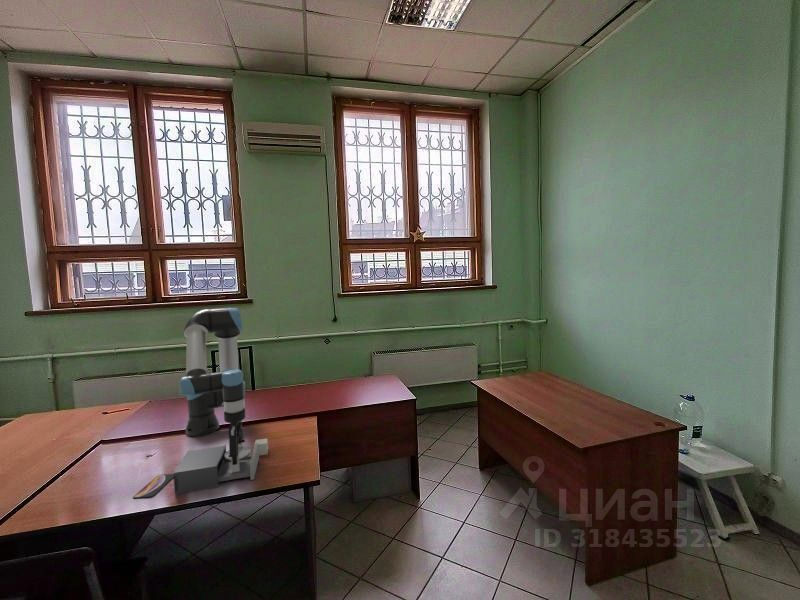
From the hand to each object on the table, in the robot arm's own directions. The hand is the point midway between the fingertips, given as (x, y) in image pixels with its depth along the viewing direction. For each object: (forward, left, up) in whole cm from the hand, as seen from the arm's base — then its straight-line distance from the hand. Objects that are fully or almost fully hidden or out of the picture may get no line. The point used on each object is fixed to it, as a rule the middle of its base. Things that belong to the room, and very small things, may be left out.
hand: (237, 465), depth 139 cm
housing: (0, -13, -3) cm, 13 cm away
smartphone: (0, -29, -4) cm, 29 cm away
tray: (0, 0, -3) cm, 3 cm away
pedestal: (-14, +7, -3) cm, 16 cm away
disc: (0, 0, +4) cm, 4 cm away
